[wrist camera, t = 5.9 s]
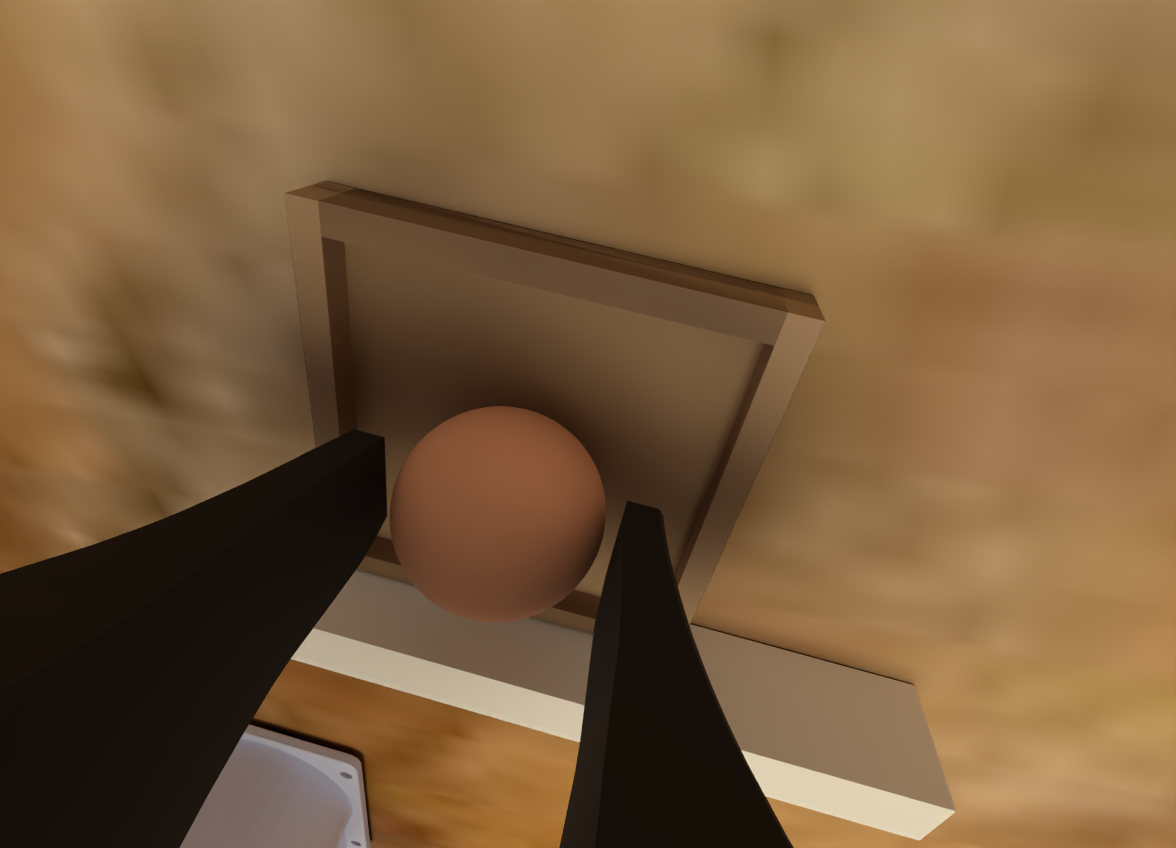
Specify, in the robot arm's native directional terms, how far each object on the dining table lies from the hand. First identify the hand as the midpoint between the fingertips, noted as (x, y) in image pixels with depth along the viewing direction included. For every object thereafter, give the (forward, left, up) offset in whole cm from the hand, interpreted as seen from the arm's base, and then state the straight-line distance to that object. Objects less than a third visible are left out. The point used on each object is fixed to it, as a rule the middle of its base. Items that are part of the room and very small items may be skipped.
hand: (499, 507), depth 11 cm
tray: (0, 0, -2) cm, 2 cm away
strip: (-5, -3, -2) cm, 7 cm away
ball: (0, 0, 0) cm, 0 cm away
